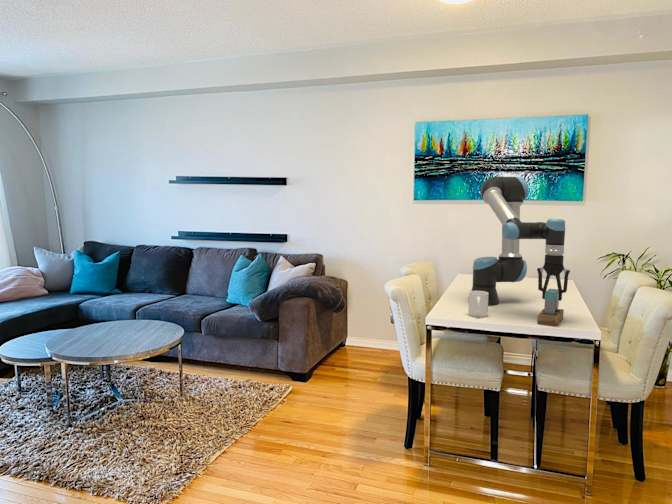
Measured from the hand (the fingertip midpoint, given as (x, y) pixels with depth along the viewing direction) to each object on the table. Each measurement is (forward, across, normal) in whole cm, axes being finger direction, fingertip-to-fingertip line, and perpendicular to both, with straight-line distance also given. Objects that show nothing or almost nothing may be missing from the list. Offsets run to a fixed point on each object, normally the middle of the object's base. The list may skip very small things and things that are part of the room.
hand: (551, 307), depth 228 cm
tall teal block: (+3, 0, 0) cm, 3 cm away
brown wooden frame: (+6, 0, 0) cm, 6 cm away
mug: (+7, -30, -8) cm, 32 cm away
